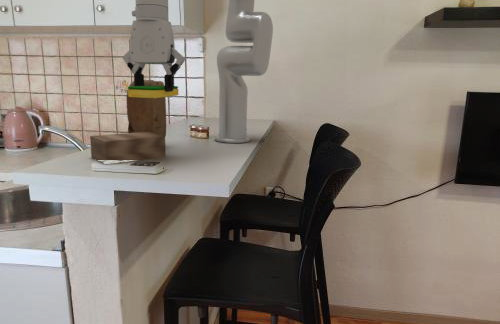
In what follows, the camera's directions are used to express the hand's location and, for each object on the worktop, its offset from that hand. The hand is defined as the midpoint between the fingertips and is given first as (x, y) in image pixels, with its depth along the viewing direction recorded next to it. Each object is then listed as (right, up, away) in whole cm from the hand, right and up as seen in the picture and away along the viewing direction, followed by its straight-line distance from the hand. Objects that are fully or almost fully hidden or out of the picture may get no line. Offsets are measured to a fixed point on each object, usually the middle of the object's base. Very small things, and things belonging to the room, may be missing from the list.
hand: (154, 90), depth 95 cm
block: (-8, -13, +21) cm, 26 cm away
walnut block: (-8, -17, +6) cm, 20 cm away
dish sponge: (0, -2, +1) cm, 2 cm away
